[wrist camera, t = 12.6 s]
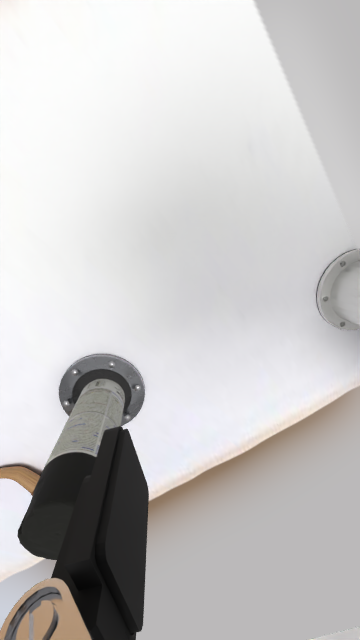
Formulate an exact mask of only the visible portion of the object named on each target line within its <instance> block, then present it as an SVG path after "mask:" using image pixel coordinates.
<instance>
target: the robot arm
mask: <svg viewBox="0 0 360 640" xmlns="http://www.w3.org/2000/svg"><path fill="white" fill-rule="evenodd" d="M317 303H318V308H319V311H320V313H321V315H322V316H323V318H324V319H325V320H326V321H327V322H328V323H329V324H331V325H333V326H335V327H337V328H340V329H344V330H357V329H360V249H357V250H352V251H350V252H347V253H345V254H343V255H342V256H340V257H338V258H337V259H336V260H335V261H334V262H333V263H332V264H331V265H330V266H329V267H328V268H327V270H326V271H325V273H324V274H323V276H322V278H321V281H320V283H319V286H318V291H317ZM148 499H149V493H148V486H147V482H146V479H145V477H144V474H143V471H142V468H141V465H140V462H139V459H138V456H137V454H136V451H135V448H134V445H133V442H132V439H131V436H130V433H129V431H128V429H124V430H123V428H122V427H121V426H119V427H115V428H110V429H106V430H105V431H104V433H103V436H102V440H101V443H100V446H99V450H98V453H97V456H96V460H95V463H94V467H93V470H92V473H91V475H89V476H86V477H85V478H84V480H83V482H82V485H81V488H80V491H79V494H78V497H77V500H76V503H75V506H74V509H73V512H72V515H71V519H70V522H69V525H68V528H67V531H66V534H65V537H64V540H63V543H62V546H61V549H60V552H59V555H58V559H57V562H56V565H55V568H54V571H53V574H52V577H51V579H46V580H44V581H42V582H40V583H38V584H36V585H35V586H33V587H32V588H31V589H30V590H28V591H27V592H26V593H25V594H24V595H23V596H22V597H21V598H20V600H19V601H18V602H17V603H16V604H15V605H14V607H13V608H12V610H11V612H10V613H9V615H8V616H7V618H6V619H5V622H4V624H3V626H2V628H1V630H0V640H136V632H139V631H141V630H142V626H143V611H144V590H145V567H146V543H147V521H148ZM310 640H360V627H356V628H352V629H348V630H344V631H340V632H336V633H333V634H329V635H325V636H321V637H317V638H313V639H310Z"/></svg>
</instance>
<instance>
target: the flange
mask: <svg viewBox="0 0 360 640" xmlns="http://www.w3.org/2000/svg"><path fill="white" fill-rule="evenodd" d="M96 379H109V380H113V381H115V382H117V383H118V384H119V385H120V386H121V387H122V389H123V391H124V393H125V403H124V408H123V414H122V419H121V425H120V426H122V425H124V424H126V423H128V422H129V421H131V420H132V419H133V418H134V417H135V416H136V415H137V414H138V412H139V411H140V409H141V407H142V405H143V401H144V394H145V388H144V382H143V379H142V377H141V375H140V373H139V372H138V370H137V369H136V368H135V367H134V366H133V365H132V364H130V363H129V362H128V361H126V360H124V359H122V358H120V357H117V356H114V355H109V354H96V355H90V356H87V357H84V358H82V359H80V360H78V361H77V362H75V363H74V364H73V365H72V366H71V367H70V368H69V369H68V370H67V372H66V373H65V375H64V376H63V378H62V380H61V383H60V387H59V398H60V402H61V405H62V407H63V409H64V410H65V412H66V413H67V414H68V416H69V417H70V415H71V413H72V410H73V408H74V406H75V404H76V402H77V400H78V398H79V396H80V394H81V392H82V390H83V389H84V388H85V386H86V385H87V384H89V383H90V382H92V381H94V380H96Z"/></svg>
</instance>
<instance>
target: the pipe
mask: <svg viewBox="0 0 360 640" xmlns="http://www.w3.org/2000/svg"><path fill="white" fill-rule="evenodd" d="M0 478H7V479H12V480H14V481H16V482H18V483H19V484H20V485H21V486H23V487H24V488H25V489H26V490H28V491H29V492H30V493H31V495H32V496H33V492H34V489H35V486H36V484H37V482H38V480H39V478H40V475H38V474H36V473H34V472H33V471H31V470H29V469H27V468H25V467H21V466H15V467H5V468H0Z"/></svg>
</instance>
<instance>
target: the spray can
mask: <svg viewBox="0 0 360 640" xmlns="http://www.w3.org/2000/svg"><path fill="white" fill-rule="evenodd" d="M124 403H125V393H124V391H123V389H122V387H121V386H120V385H119V384H118V383H117V382H115V381H113V380H109V379H96V380H94V381H92V382H90V383H89V384H87V385H86V386H85V388H84V389H83V390H82V392H81V394H80V396H79V398H78V400H77V402H76V404H75V406H74V408H73V410H72V413H71V415H70V417H69V419H68V421H67V423H66V425H65V427H64V429H63V431H62V433H61V435H60V437H59V439H58V441H57V443H56V445H55V447H54V449H53V451H52V453H51V455H50V457H49V459H48V461H47V463H46V465H45V467H44V470H43V472H42V474H41V476H40V478H39V480H38V482H37V484H36V486H35V489H34V492H33V497H32V500H31V503H30V505H29V508H28V510H27V512H26V514H25V516H24V518H23V521H22V523H21V525H20V528H19V529H18V538H19V541H20V543H21V544H22V545H23V546H24V548H25V549H27V550H28V551H29V552H30V553H32V554H33V555H35V556H38V557H43V558H46V559H51V560H57V559H58V555H59V552H60V549H61V546H62V543H63V540H64V537H65V534H66V531H67V528H68V525H69V522H70V519H71V515H72V512H73V509H74V506H75V503H76V500H77V497H78V494H79V491H80V488H81V485H82V482H83V480H84V478H85V477H86V476H89V475H91V473H92V470H93V467H94V463H95V460H96V456H97V453H98V450H99V446H100V443H101V440H102V436H103V433H104V431H105V430H106V429H110V428H115V427H119V426H120V425H121V419H122V414H123V408H124Z"/></svg>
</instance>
